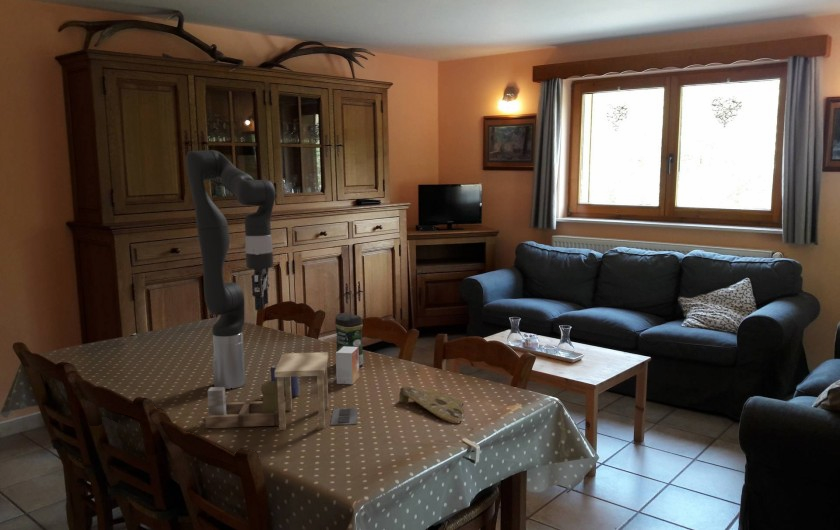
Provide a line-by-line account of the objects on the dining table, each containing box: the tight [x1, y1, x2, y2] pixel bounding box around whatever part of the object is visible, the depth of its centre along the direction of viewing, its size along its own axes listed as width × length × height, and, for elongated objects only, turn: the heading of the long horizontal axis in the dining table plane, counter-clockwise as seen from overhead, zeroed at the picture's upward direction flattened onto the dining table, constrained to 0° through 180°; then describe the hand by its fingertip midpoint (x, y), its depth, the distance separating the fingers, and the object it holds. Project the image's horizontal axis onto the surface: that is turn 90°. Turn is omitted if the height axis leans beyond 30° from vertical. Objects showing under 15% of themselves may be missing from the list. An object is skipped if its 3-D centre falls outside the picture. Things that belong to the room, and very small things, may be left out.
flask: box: [270, 363, 300, 398], centre depth 205 cm, size 9×3×11 cm, turn 74°
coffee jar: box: [334, 312, 364, 368], centre depth 235 cm, size 10×8×19 cm
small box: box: [335, 346, 360, 385], centre depth 219 cm, size 8×6×10 cm
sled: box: [205, 386, 279, 429], centre depth 185 cm, size 20×11×9 cm, turn 94°
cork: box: [260, 380, 279, 413], centre depth 185 cm, size 6×6×11 cm
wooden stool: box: [274, 351, 358, 431], centre depth 186 cm, size 21×17×16 cm
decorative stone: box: [398, 385, 464, 424], centre depth 194 cm, size 25×15×5 cm, turn 35°
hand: (262, 306), depth 192 cm, fingers open, 8 cm apart
